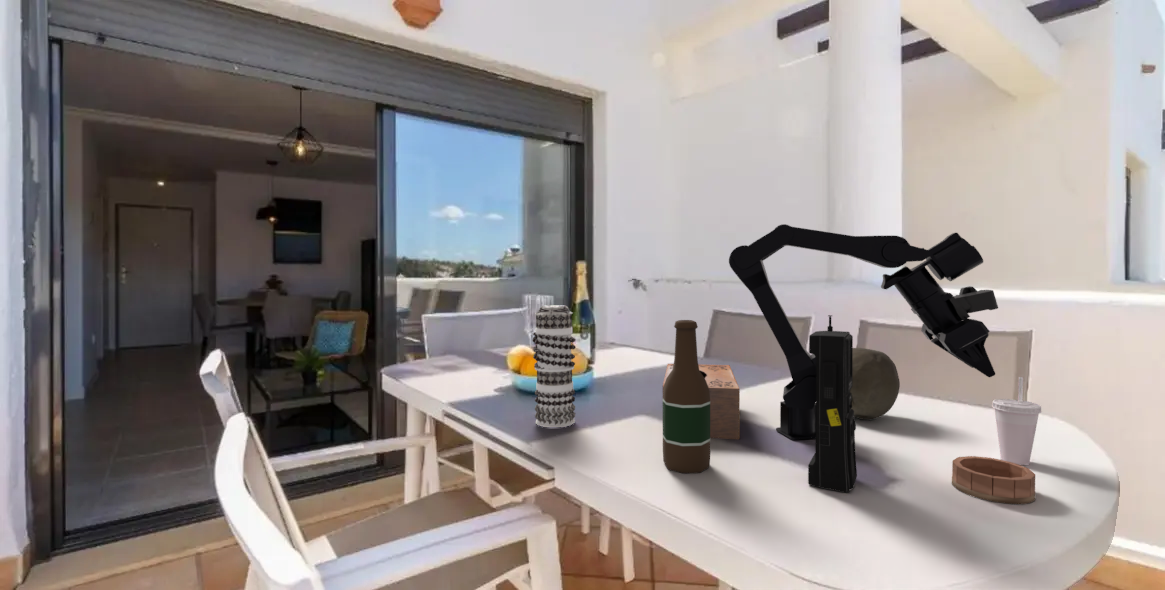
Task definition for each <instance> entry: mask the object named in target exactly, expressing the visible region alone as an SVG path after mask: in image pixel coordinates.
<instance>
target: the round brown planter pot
mask: <svg viewBox="0 0 1165 590" xmlns="http://www.w3.org/2000/svg"><path fill="white" fill-rule="evenodd" d="M951 463H952V465H951V466H952V467H951V468H952V469H951V470H952V471H951V472H952V473H951V486H953V487H954V488H955V489H956V490H958V491H959V492H961V493H963V494H966V495H967V496H970V495H971V497H973V496H974V498H976V497H977V498H976V499H980V500H984V501H989V502H993V503H999V504H1004V505H1005V504H1007V505H1026V504H1032V503H1033V502H1035V501H1036V473H1034V472H1033V471H1032V470H1031V469H1030V468H1028V467H1026V466H1024V465H1018V464H1015V463H1012V462H1008V461H1004V460H1001V459H999V458H993V457H987V456H986V457H985V456H976V455H973V456H972V455H971V456H970V455H968V456H967V455H966V456H959V457H958V456H957V457H956V458H955V459H953V460H952V462H951Z"/></svg>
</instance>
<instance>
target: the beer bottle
mask: <svg viewBox="0 0 1165 590" xmlns="http://www.w3.org/2000/svg"><path fill="white" fill-rule="evenodd" d="M697 323H698V322H696V321H695V320H690V319H680V320H676V321H675V322H674V325H673V327H674V328H675V340H674V341H675V344H674V358H673V359H674V360H673V364H674V365H673V370H672V371H671V372H670V374H669V375H668V377H667V378H666V381H665V384H664V387H663V386H662V459H663V462H664V464H665V465H664V466H665V467H666V469H667V470H669V471H673V472H676V473H681V474H700V473H702V472H704V471H706V470H707V469H709V468H710V466H711V464H710V463H711V438H710V391H709V388H708V385H707V382H706V380H705V378H704V377H703V375H702V374H701V372H700V371H699V365H698V364H699V360H698V359H699V358H698V345H697V344H698V343H697V332H696V331H697V330H696V329H698V324H697Z"/></svg>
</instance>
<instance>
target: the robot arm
mask: <svg viewBox="0 0 1165 590" xmlns="http://www.w3.org/2000/svg"><path fill="white" fill-rule="evenodd" d="M784 247H793V248H794V247H795V248H801V249H805V250H812V251H817V252H818V251H819V252H823V253H824V252H826V253H831V254H835V255H837V254H838V255H843V256H848V257H851V258H854V259H857V260H860V261H863V262H865V263H868V264H871V265H874V266H878V267H880V268H884V269H896V268H900V267H902V266H903V265H905V264H907V262H908V263H909V262H912V263H913V262H921V263H919V264H917V265H916V266H914V267H912V268H909V267H908V266H904V267H902V268H900V269H899V270H897V271H895V272H894V273H892V274H890V275H889V274H887V273H884V274H883V275H882V282H881V285H880V288H881V289H883V290H888V289H890V288H892V287H893V286H894V287H895V289H896V290H897V291H898V292H899V293H900V295H901V296H902V297H903V298H904V300H905V302H907V304H908V305H909V307H910V310H911V311H912V312H913V314H914V315H916V316H917V317H918V318H919V319H920V321H921V322H922V325H921V332H922V334H923V335H924V336H925V338H926V339H927V340H929V341H930V342H931V343H932V344H934V345H935V346H937V347H939V348H940V349H942V350H943V351H945V352H946V353H948V354H950V355H951V356H953V357H955V359H958V360H959V361H960V362H962V363H963V364H966V365H967V366H968V367H970V368H973V369H975V370H977V371H978V372H980V373H981V374H983V375H984V376H985V377H988V378H992V377H995V375H996V371H995V369H994V367H993V364H992V362H991V360H990V358H989V355H988V353H987V350H986V347H985V343H986V340H987V339H988V338H989V335H990V330H989V328H988V327H987V326H986V324H985V323H984V322H983V321H981V320H978V319H975V318H974V319H973V318H970V317H971V315H970V314H972V313H977V312H983V311H987V310H989V311H994V310H998V309H999V305H998V302H997V299H996V295H995V292H994V290H993V289H979V290H977V289H976V288H975V287H974V286H971V285H970V286H969V285H968V286H964V287H961V288H960V290H959V293H958V294H955V295H953V294H952V292H946V291H945V290H944V289H943V288H942V287H941V285H940V284H939V283H938V282H937V280H938V279H939V281H942V280H944V279H946V280H947V281H949V282H953V281H955V280H956V279H957V278H959V277H961V276H963V275H964V274H966V273H968V272H970V271H972V270H973V269H974V268H976V267H978V266H980V265H982V264H984V258H983V256H982V255H981V253H980V252H979V250H978V249H977V248H976V247H975V246H974V245H972V244H971V243H969V241H967V240H966V239H965V238H963V237H962V236H961V235H960V234H959V232H952V233H951V234H949V235H948V236H946V237H945V238H944V239H943V240H942V241H940V242H938V243H936V244H935V245H933V246H932V247H930V248H928V249H925V248H924V247H919V246H913V245H911V244H910V243H909V241H908V240H907V239H906V238H904V237H902V236H899V235H860V236H859V235H848V234H843V233H835V232H829V231H824V230H823V231H822V230H817V229H808V228H804V227H796V226H792V225H789V224H779V225H777V226H776V227H775V228H774V229H773V230H772V231H770V232H768V233H766V234H765V235H763V236H762V237H760V238H758V239H756V240H755V241H753V242H752V243H750V244H749V245H746V244H745V245H739V246H737V247H736V248H734V249H733V250H732V251H731V253H730V254H729V258H728V264H729V267H730V268H731V270H732V271H733V273H734V274H735V275H736V276H737V278H738V279H739V280H740V281H741V282H742V283H743V285H744V286H745V287H746V288H747V290H749V292H750V293H751V295H752V296H753V298H754V300H755V302H756V304H757V306H758V307H759V309H760V311H761V314H762V315H763V316H764V319H765V320H766V322H767V324H768V326H769V328H770V330H771V332H772V333H773V335H774V338H775V339H776V341H777V343H778V345H779V347H780V348H781V351H782V352H783V354H784V356H785V359H786V362H787V366H788V370H789V372H790V376H791V379H792V380H791V381H789V383H788V384H786V385H785V386H784V387H783V393H782V400H783V401H780V402H779V403H780V405H779V410H780V414H779V416H780V418H779V421H780V424H779V427H776V428H775V431H776V432H778V433H780V434H781V435H783V436H785V437H787V438H789V439H790V440H794V441H795V440H812V439H816V357H815V355H814V354H811V353H809V351H808V350H807V349H806V348H805V347H804V345H803V344H802V342H801V340H800V338H799V336H798V334H797V333H796V331H795V329H794V327H793V324H792V323H791V322H790V319H789V318H788V316H787V314H786V311H784V308H783V306H782V305H781V303H780V301H779V299H778V298H777V295H776V293H775V291H774V290H773V287H771V284H770V281H769V278H768V273H767V271H766V267H765V264H764V261H765V260H766V259H768V258H769V257H771V256H772V255H774V254H776V253H777V252H778V251H779V250H781V249H783V248H784ZM924 260H925V261H924ZM922 261H923V262H922ZM926 267H927V268H928V269H929V270H930V271H931V272H930V271H929V270H928V269H927V268H926ZM931 273H932V274H933V275H934V276H935V278H937V280H936V279H935V278H934V276H933V275H932V274H931Z"/></svg>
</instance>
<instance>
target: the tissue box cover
mask: <svg viewBox="0 0 1165 590" xmlns="http://www.w3.org/2000/svg"><path fill="white" fill-rule="evenodd" d="M666 365H667V366H666V370H665V375H664V378H663V382H662V388H663V387H664V384H665V381H666V378H667V377H668V375H669V374H670V372H671V371H672V370H673V365H674V363H667V364H666ZM698 365H699V371H700V372H701V374H702V375H703V377H704V378H705V380H706V382H707V385H708V388H709V391H710V439H722V440H723V439H724V440H740V409H741V408H740V391H741V390H740V386H739V384H738V382H737V380H736V377H735V375H734V372H733V370H732V368H731V366H730V364H700V363H698Z"/></svg>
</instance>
